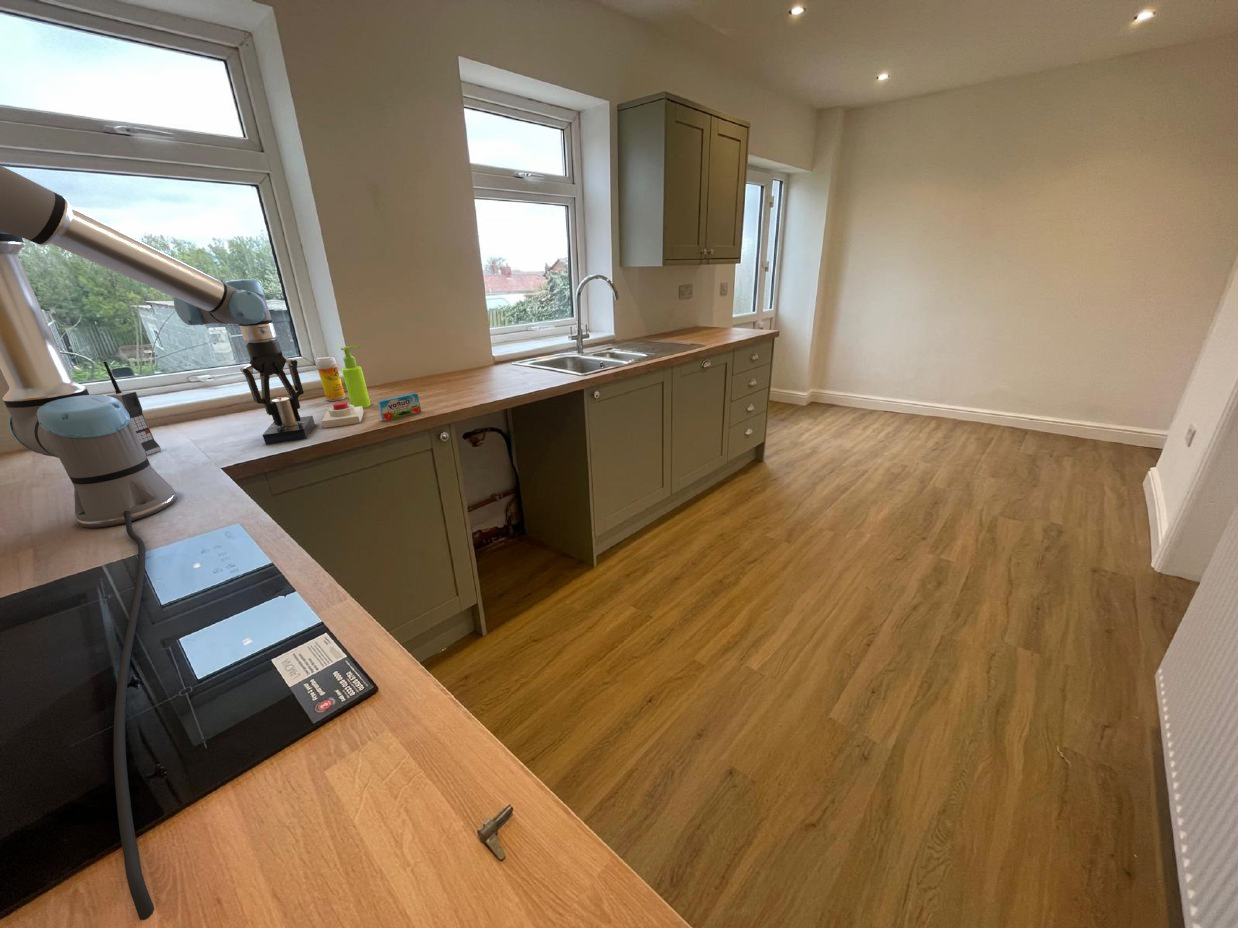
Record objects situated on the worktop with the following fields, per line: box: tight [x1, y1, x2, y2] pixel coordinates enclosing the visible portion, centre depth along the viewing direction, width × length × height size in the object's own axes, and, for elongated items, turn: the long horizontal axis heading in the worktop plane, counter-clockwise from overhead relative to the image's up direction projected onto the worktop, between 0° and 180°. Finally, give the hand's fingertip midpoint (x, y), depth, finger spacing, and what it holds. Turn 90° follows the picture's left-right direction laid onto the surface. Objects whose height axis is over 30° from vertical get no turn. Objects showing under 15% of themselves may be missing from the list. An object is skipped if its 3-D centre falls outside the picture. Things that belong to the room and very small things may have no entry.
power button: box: [332, 401, 349, 410], centre depth 155 cm, size 4×4×2 cm
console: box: [262, 415, 316, 446], centre depth 145 cm, size 14×10×3 cm
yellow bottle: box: [315, 355, 346, 402], centre depth 178 cm, size 6×6×15 cm
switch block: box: [321, 404, 364, 429], centre depth 156 cm, size 12×10×4 cm
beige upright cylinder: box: [271, 396, 297, 427], centre depth 143 cm, size 4×4×8 cm
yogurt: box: [377, 392, 422, 422], centre depth 156 cm, size 12×2×6 cm, turn 136°
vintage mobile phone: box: [102, 361, 162, 456], centre depth 132 cm, size 4×5×25 cm
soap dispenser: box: [340, 345, 372, 409], centre depth 167 cm, size 6×7×20 cm
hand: (287, 422), depth 144 cm, fingers closed on beige upright cylinder, 4 cm apart
